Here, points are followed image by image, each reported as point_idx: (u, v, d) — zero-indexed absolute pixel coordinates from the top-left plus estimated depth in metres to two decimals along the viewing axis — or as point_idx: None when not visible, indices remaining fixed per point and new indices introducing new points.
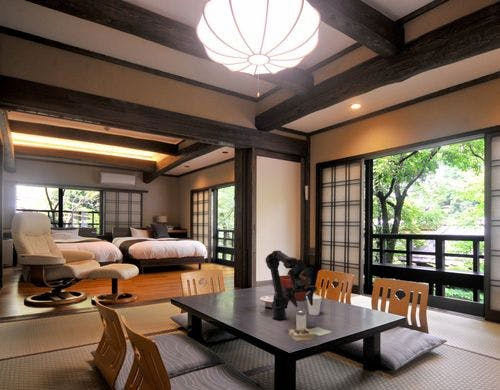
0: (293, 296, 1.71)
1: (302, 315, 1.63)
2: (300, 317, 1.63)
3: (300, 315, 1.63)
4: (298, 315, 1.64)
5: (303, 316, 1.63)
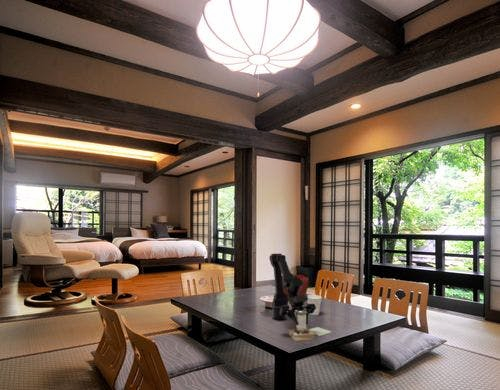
0: (293, 314, 1.66)
1: (302, 315, 1.63)
2: (300, 317, 1.63)
3: (300, 315, 1.63)
4: (298, 315, 1.64)
5: (303, 316, 1.63)
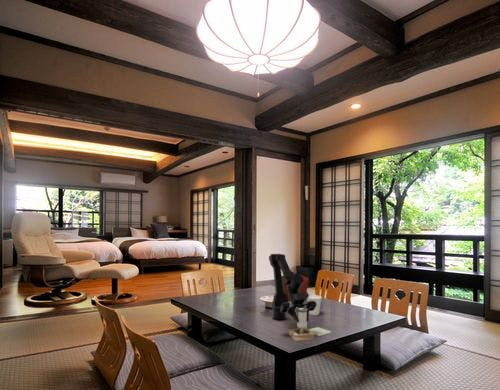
0: (294, 311, 1.66)
1: (303, 312, 1.63)
2: (301, 314, 1.63)
3: (301, 312, 1.63)
4: (299, 312, 1.64)
5: (304, 313, 1.63)
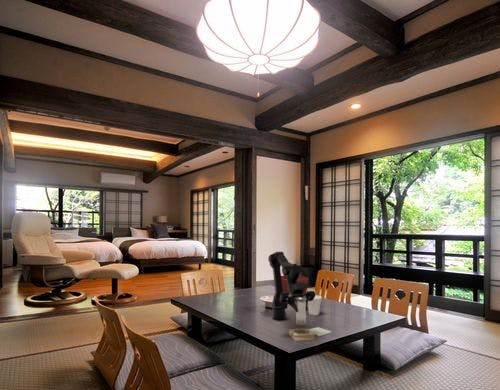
0: (293, 300, 1.66)
1: (302, 302, 1.64)
2: (300, 304, 1.64)
3: (300, 302, 1.64)
4: (298, 302, 1.64)
5: (303, 303, 1.64)
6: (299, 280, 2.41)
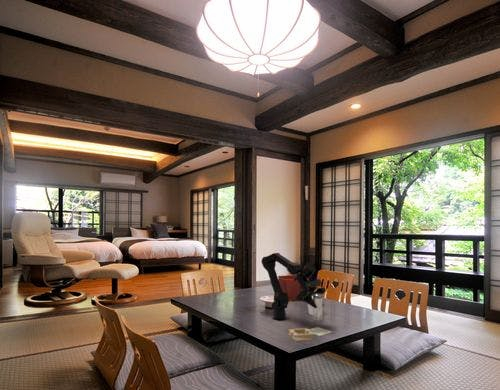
0: (311, 298, 1.73)
1: (320, 298, 1.72)
2: (319, 300, 1.72)
3: (319, 298, 1.72)
4: (317, 298, 1.72)
5: (321, 299, 1.72)
6: None
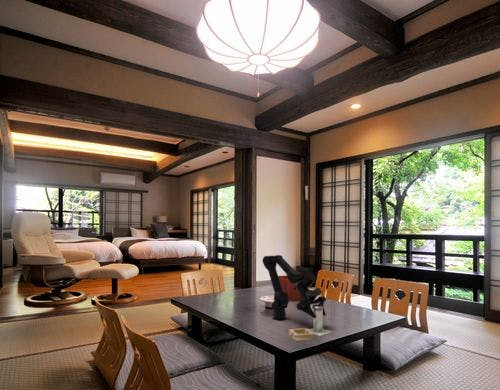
0: (310, 307, 1.72)
1: (321, 310, 1.71)
2: (319, 312, 1.71)
3: (319, 311, 1.71)
4: (317, 311, 1.71)
5: (321, 311, 1.72)
6: None
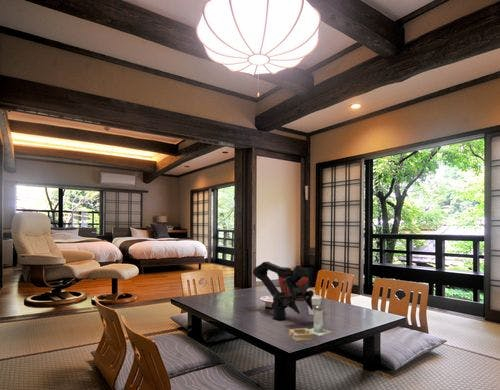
0: (294, 304, 1.80)
1: (321, 310, 1.72)
2: (319, 312, 1.71)
3: (319, 310, 1.71)
4: (317, 310, 1.72)
5: (322, 311, 1.72)
6: None
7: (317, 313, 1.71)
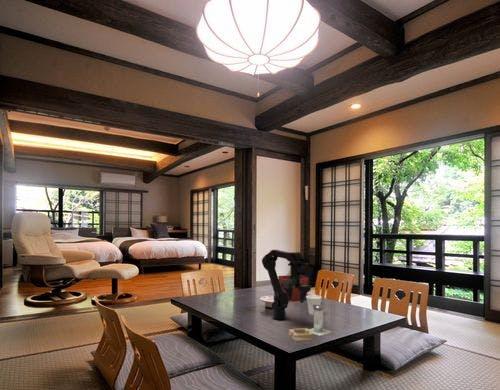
0: (286, 291, 1.91)
1: (321, 310, 1.72)
2: (320, 312, 1.71)
3: (320, 310, 1.71)
4: (318, 310, 1.71)
5: (322, 311, 1.72)
6: None
7: (317, 313, 1.71)
